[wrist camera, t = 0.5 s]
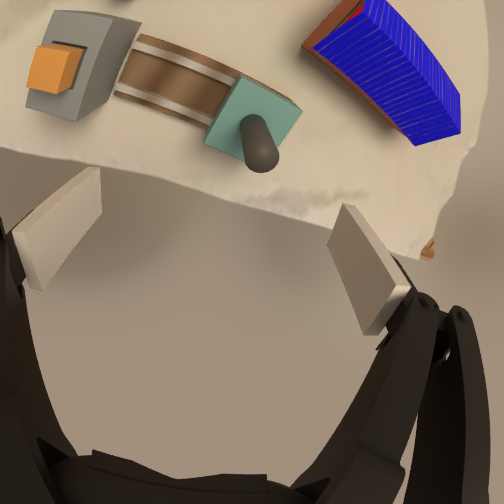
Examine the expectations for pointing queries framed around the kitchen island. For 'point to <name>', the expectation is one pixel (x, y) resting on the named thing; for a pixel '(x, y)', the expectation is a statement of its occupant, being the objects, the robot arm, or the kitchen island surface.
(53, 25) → the cabinet
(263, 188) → the kitchen island surface
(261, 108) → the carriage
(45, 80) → the button
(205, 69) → the rail bed
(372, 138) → the kitchen island surface
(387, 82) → the house
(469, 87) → the kitchen island surface
